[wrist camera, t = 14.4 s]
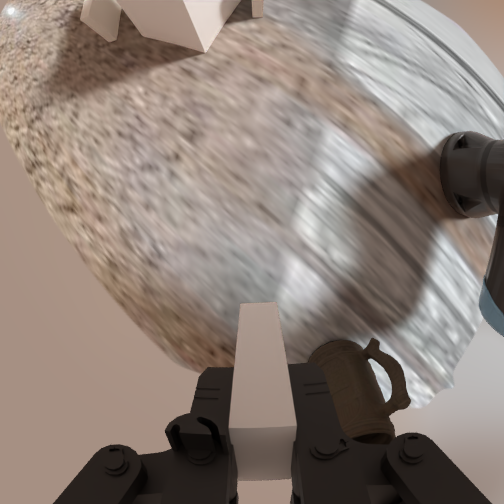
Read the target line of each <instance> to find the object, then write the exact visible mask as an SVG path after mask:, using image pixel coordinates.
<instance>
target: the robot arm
mask: <svg viewBox="0 0 504 504" xmlns="http://www.w3.org/2000/svg"><path fill="white" fill-rule="evenodd" d="M440 176H441V183H442V187H443V190H444V193H445V196H446V198H447V200H448V202H449V203H450V205H451V206H452V207H453V208H454V209H455V210H456V211H457V212H458V213H460V214H462V215H464V216H468V217H472V218H481V217H485V216H489V215H494V214H498V220H497V225H496V231H495V236H494V241H493V246H492V250H491V254H490V259H489V262H488V266H487V270H486V273H485V275H484V277H483V286H482V290H481V294H480V297H479V307H480V311H481V314H482V316H483V317H484V319H485V320H486V321H487V322H488V324H489V325H490V326H491V327H492V328H493V329H494V330H495V331H497V332H498V333H499V334H500V335H502V336H503V337H504V140H494V139H492V138H489V137H487V136H485V135H482V134H480V133H477V132H473V131H466V132H459V133H456V134H454V135H453V136H452V137H451V138H450V139H449V140H448V141H447V143H446V145H445V147H444V149H443V152H442V156H441V163H440ZM165 433H166V436H167V438H168V440H169V443H170V445H171V447H172V449H170V450H167V451H164V452H159V453H151V454H142V455H138V454H137V453H136V451H134V450H133V449H131V448H130V447H128V446H124V445H109V446H106V447H104V448H101V449H100V450H99V451H98V452H96V453H95V454H94V455H93V457H92V458H91V459H90V461H88V463H87V464H86V465H85V466H84V467H83V469H82V470H81V471H80V472H79V473H78V475H77V476H76V477H75V478H74V479H73V481H72V482H71V483H70V484H69V485H68V486H67V488H66V489H65V490H64V491H63V493H62V494H61V495H60V496H59V497H58V499H57V500H56V501H55V502H54V503H53V504H238V493H237V479H238V480H239V481H256V480H280V479H291V477H292V486H293V489H292V495H291V501H290V504H492V503H491V502H490V501H489V500H488V499H487V498H486V497H485V496H484V495H483V494H482V493H481V492H480V491H479V489H478V488H477V487H476V486H475V485H474V484H473V483H472V482H471V481H470V480H469V479H468V478H467V477H466V476H465V475H464V474H463V472H462V471H460V469H459V468H458V467H457V466H456V465H455V464H454V463H453V462H452V461H451V460H450V459H449V458H448V457H447V456H446V454H445V453H444V452H443V451H442V450H441V449H440V448H439V447H438V446H437V445H436V444H435V443H434V442H433V441H432V440H431V439H430V438H428V437H427V436H426V435H422V434H419V433H405V434H402V435H399V436H397V437H396V438H395V439H393V440H392V441H391V442H390V444H389V445H380V444H365V443H360V442H357V441H355V440H353V439H351V438H350V437H349V436H347V435H346V434H345V433H344V432H343V430H342V428H341V425H340V422H339V419H338V416H337V412H336V409H335V406H334V403H333V399H332V396H331V393H330V390H329V387H328V384H327V381H326V377H325V374H324V371H323V370H322V369H321V368H320V367H319V366H318V365H317V364H316V363H315V362H312V363H300V364H287V360H286V353H285V347H284V341H283V335H282V329H281V323H280V318H279V312H278V306H277V302H267V303H241V304H240V313H239V323H238V333H237V344H236V354H235V364H234V367H231V368H214V367H207V369H206V370H205V371H204V372H203V373H202V374H201V375H200V376H199V379H198V383H197V387H196V391H195V395H194V400H193V403H192V407H191V411H190V413H188V414H185V415H182V416H179V417H177V418H176V419H174V420H173V421H171V422H170V423H169V424H168V426H167V428H166V429H165Z"/></svg>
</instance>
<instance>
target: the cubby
mask: <svg viewBox="0 0 504 504" xmlns="http://www.w3.org/2000/svg"><path fill="white" fill-rule="evenodd" d="M251 1H252V17H253V18H257V17H263V0H251ZM120 14H121V6H120V5H119V4H118V2H117V1H116V0H84V4H83V8H82V13H81V17H80V20H81V21H82V22H84V23H85V24H86V25H88V26H89V27H90V28H91V29H93V30H94V31H95V32H97V33H98V34H99V35H100V36H102V37H103V38H104V39H105V40H107V41H108V42H112V41H115V40H117V35H118V28H119V21H120Z"/></svg>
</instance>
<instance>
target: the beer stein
mask: <svg viewBox="0 0 504 504" xmlns="http://www.w3.org/2000/svg"><path fill="white" fill-rule="evenodd" d="M379 345H380V342H379V341H378V340H376V339H374V338H371V340H370V342H369V344H368V346H367V347H366V348H365V349H364V350H363V348H362V347H361V346H360V345H359V344H357V343H355V342H352V341H348V340H339V341H333V342H330V343H328V344H325V345H323V346H322V347H320V348H319V349H317V350H316V351H315V352H314V353H313V354H312V356H311V357H310V359H309V361H308V363H312V362H315V363H316V364H317V365H318V366H319V367H320V368H321V369H322V370H323V371H324V374H325V377H326V381H327V384H328V387H329V390H330V393H331V396H332V399H333V403H334V406H335V409H336V412H337V416H338V419H339V422H340V425H341V428H342V430H343V432H344V433H345V434H346V435H347V436H349V437H350V438H351V439H353V440H355V441H357V442H360V443H365V444H380V445H389V444H390V442H391V441H392V440H393V439H395V438H396V437H395V429H394V425H393V424H392V422H391V421H390V418H389V416H390V415H391V414H392V413H394V412H395V411H397V410H401V409H405V408H407V407H408V406H409V404H410V403H411V399H410V398H409V396H408V393H407V389H406V381H405V377H404V372H403V370H402V367H401V365H400V364H399V363H398V362H397V361H396V360H395V359H394V358H393V357H391V356H390V355H388V354H386V353H384V352H382V351H380V349H379ZM370 358H371V359H373V360H375V361H376V362H377V363H379V364H380V365H381V366H382V367H383V368H384V369H385V371H386V372H387V374H388V375H389V378H390V380H391V384H392V395H391V398H390V400H389V401H387V402H386V403H385V399H384V397H383V394H382V392H381V389H380V387H379V385H378V382H377V380H376V376H375V373H374V371H373V370H372V367H371V364H370V363H369V362H368V359H370Z"/></svg>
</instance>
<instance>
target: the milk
mask: <svg viewBox="0 0 504 504" xmlns="http://www.w3.org/2000/svg"><path fill="white" fill-rule="evenodd" d="M116 1H117V2H118V4H119V5H120V6H121V8H122V9H123V10H124V12H125V13H126V14H127V16H128V17H129V18H130V20H131V21H132V22H133V24H134V25H135V27H136V28H137V29H138V31H139V32H140V33H141V35H142V36H143V37H147V38H151V39H156V40H160V41H164V42H168V43H172V44H176V45H180V46H183V47H187V48H190V49H194V50H197V51H200V52H203V53H206V52H207V50H208V48H209V47H210V45H211V44H212V42H213V40H214V39H215V37H216V36H217V34H218V33H219V31H220V30H221V28H222V27H223V25H224V24H225V22H226V21H227V19H228V18H229V17H230V15H231V14H232V12H233V11H234V10H235V8H236V7H237V5H238V4H239V3H240V1H241V0H116Z"/></svg>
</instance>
